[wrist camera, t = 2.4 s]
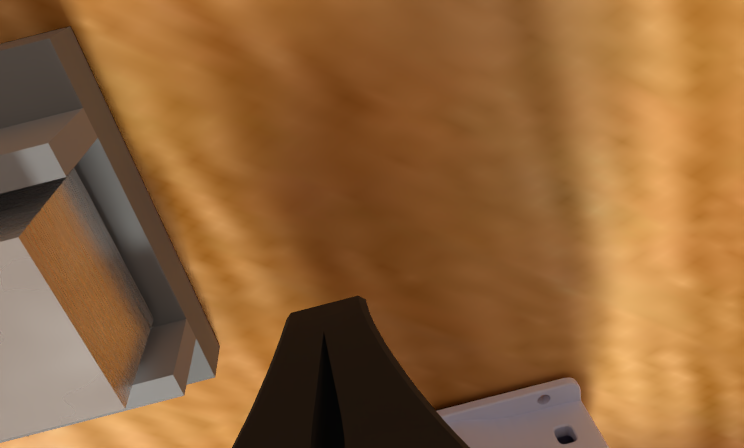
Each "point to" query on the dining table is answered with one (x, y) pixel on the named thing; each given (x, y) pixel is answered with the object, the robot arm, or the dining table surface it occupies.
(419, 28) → the dining table surface
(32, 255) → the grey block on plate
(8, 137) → the gauge base
